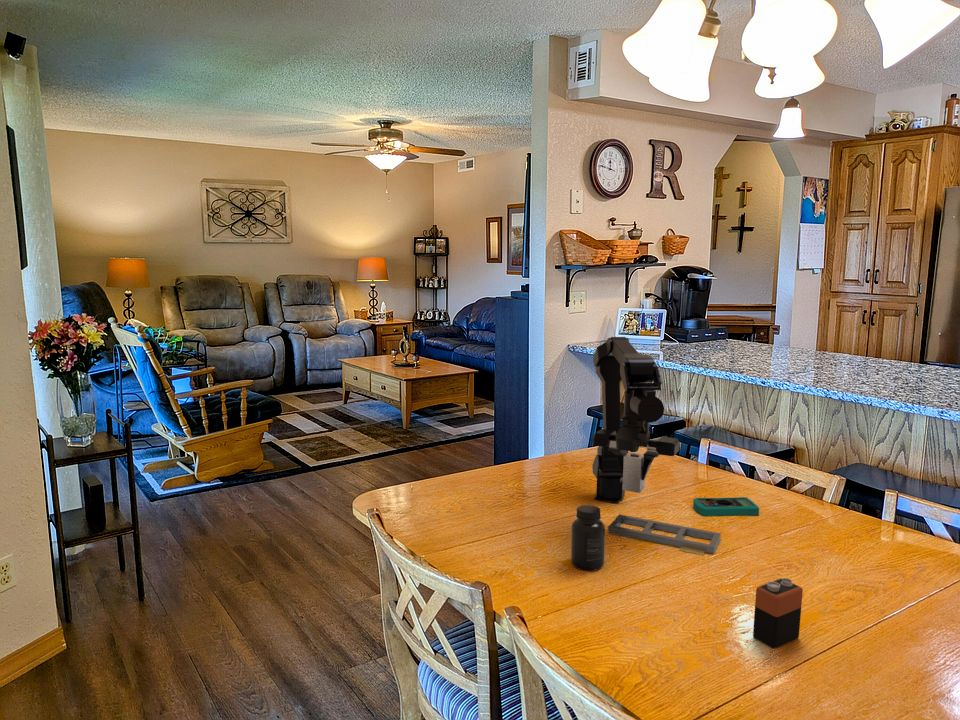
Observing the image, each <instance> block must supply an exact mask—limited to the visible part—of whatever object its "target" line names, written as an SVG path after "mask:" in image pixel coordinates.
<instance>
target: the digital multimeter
mask: <svg viewBox="0 0 960 720" xmlns="http://www.w3.org/2000/svg"><path fill="white" fill-rule="evenodd" d="M692 504H693V505H692V506H693V510H695V511H696V512H697V513H698V514H699V515H701V516H702V517H703V516H704V517H717V516H719V517H722V516H724V517H725V516H726V517H727V516H728V517H729V516H760V507H759V506H758V505H757V504H756V503H755V502H753V500H751V499H749V497H746V496H744V497H743V496H740V497H737V496H736V497H695V498H694V499H693V503H692Z"/></svg>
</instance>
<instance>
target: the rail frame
mask: <svg viewBox="0 0 960 720" xmlns="http://www.w3.org/2000/svg"><path fill="white" fill-rule="evenodd" d="M623 524H626V525H633V526H637V527H641V528H643V529H642V530H638V529H633V528H628V527H624V526H622V525H623ZM654 530H657V531H663V532H669V533H673V534H676V535H675V537H673V536H668V535H664V534H659V533H654V532H653V531H654ZM607 531H608V534H612V535H617V536H621V537H622V536H623V537H627V538H632V539H638V540H642V541H648V542H651V543H658V544H662V545H665V546H666V545H667V546H671V547H677V548H679V551H681V552H687V553H691V554H695V555H700V556H704V555H705V554H711V555H715V553H716V551H717V549H718V546H719V544H720V542H721V537H722V535H721V534H722V533H720V532H717V531H716V532H715V531H711V530H706V529H705V530H704V529H699V528H694V527H690V526H684V525H678V524H673V523H668V522H661V521H657V520H652V519H646V518H641V517H637V516H636V517H635V516H630V515H625V514H620V513H619V514H618V515H617V516H616V518H615V519H613V521H612V522H611V523H610V524H609V525H608V527H607ZM686 536H689V537H695V538H698V539H699V538H700V539H704V540H709V541H710V542H709V543H703V542H701V541H700V542H699V541H694V540H689V539H685V537H686Z"/></svg>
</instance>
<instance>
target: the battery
mask: <svg viewBox="0 0 960 720" xmlns="http://www.w3.org/2000/svg"><path fill="white" fill-rule="evenodd" d="M755 590H756V591H755V602H754V615H753V616H754V617H753V631H752V636H753V639H756V640H758V641H760V642H762V643H764V644H765V645H767V646H769V647H770V648H773V649H776V648H779V647H780V646H783V645H785V644H787V643H790V642H792V641H793V640H796V639H799V637H800V627H801V618H802V617H801V616H802V606H803V605H802V602H803V592H804V591H803V590H804V589H803V587H801V586H799V585H798V584H795V583H793V581H792V580H791V579H790V578H788V577H787V578H785V577H784V578H782V577H781V578H779V579H775V580H773V581H768V582H766V583H765V584H761V585H759V586H757V587H756V589H755Z"/></svg>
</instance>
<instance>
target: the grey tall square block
mask: <svg viewBox="0 0 960 720" xmlns="http://www.w3.org/2000/svg"><path fill="white" fill-rule="evenodd" d="M643 463H644V453H639V452H638V453H637V452H630V451H628V453H627V454H626V455H625V456H624V464H623V490H625V492H630V493H631V492H632V493H637V494H640V493H641V492H642V491H643V490H644V489H645V485H646V484H645V483H646V482H645V481H646V480H645V479H646V478H645V479H644V480H642V470H643Z"/></svg>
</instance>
